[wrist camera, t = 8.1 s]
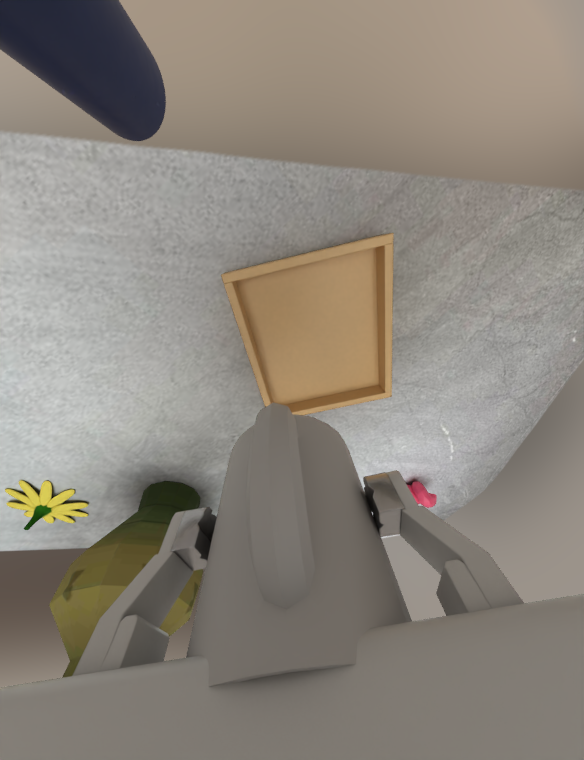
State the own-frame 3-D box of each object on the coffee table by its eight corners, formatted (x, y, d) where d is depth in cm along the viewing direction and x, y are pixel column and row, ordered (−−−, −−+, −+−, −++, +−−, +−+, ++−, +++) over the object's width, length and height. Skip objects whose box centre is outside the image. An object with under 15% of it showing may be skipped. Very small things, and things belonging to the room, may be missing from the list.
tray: (225, 272, 23) (220, 274, 20) (381, 234, 22) (393, 232, 20) (270, 409, 31) (270, 422, 29) (383, 386, 31) (391, 396, 28)
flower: (99, 522, 41) (24, 522, 40) (77, 480, 36) (-10, 479, 34) (82, 547, 38) (0, 549, 36) (55, 506, 32) (-43, 506, 31)
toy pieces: (398, 462, 38) (412, 485, 35) (434, 486, 43) (449, 509, 39) (347, 498, 43) (354, 522, 39) (383, 517, 47) (393, 540, 43)
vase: (225, 523, 44) (153, 918, 18) (138, 527, 43) (-74, 956, 17) (213, 464, 36) (50, 1027, 10) (105, 468, 35) (-399, 1116, 9)
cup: (246, 498, 16) (220, 726, 8) (198, 377, 11) (29, 660, 3) (346, 484, 16) (413, 699, 8) (344, 355, 11) (503, 596, 3)
